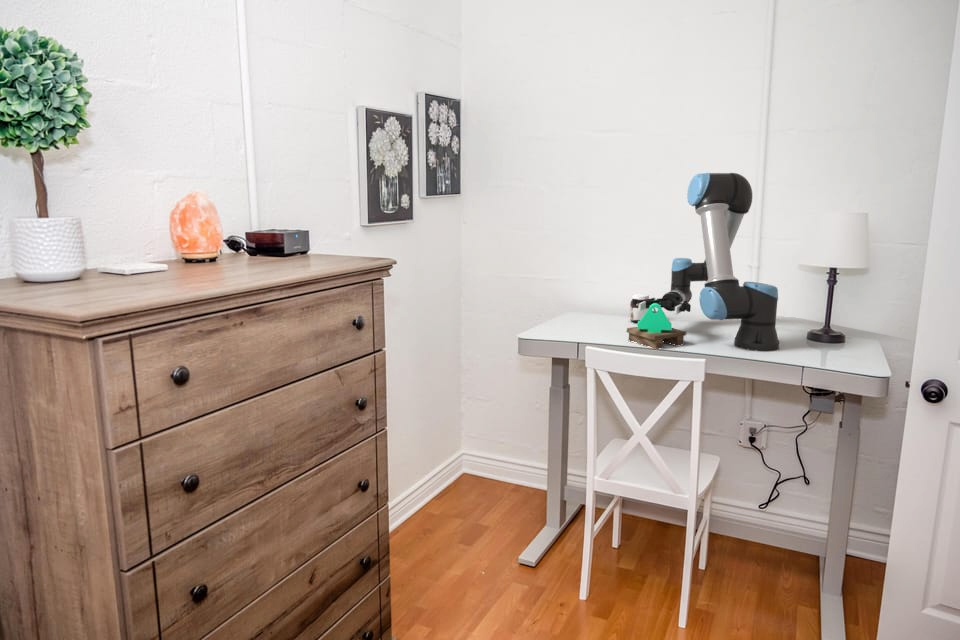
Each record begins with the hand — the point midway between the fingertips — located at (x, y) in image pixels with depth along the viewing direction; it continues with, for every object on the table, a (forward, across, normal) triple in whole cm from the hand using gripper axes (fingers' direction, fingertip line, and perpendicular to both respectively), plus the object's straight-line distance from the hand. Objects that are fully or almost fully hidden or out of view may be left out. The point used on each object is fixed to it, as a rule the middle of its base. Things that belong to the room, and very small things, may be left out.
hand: (657, 309), depth 254 cm
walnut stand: (+1, 0, -13) cm, 13 cm away
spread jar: (-34, +15, -13) cm, 39 cm away
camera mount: (+2, 0, -8) cm, 8 cm away
